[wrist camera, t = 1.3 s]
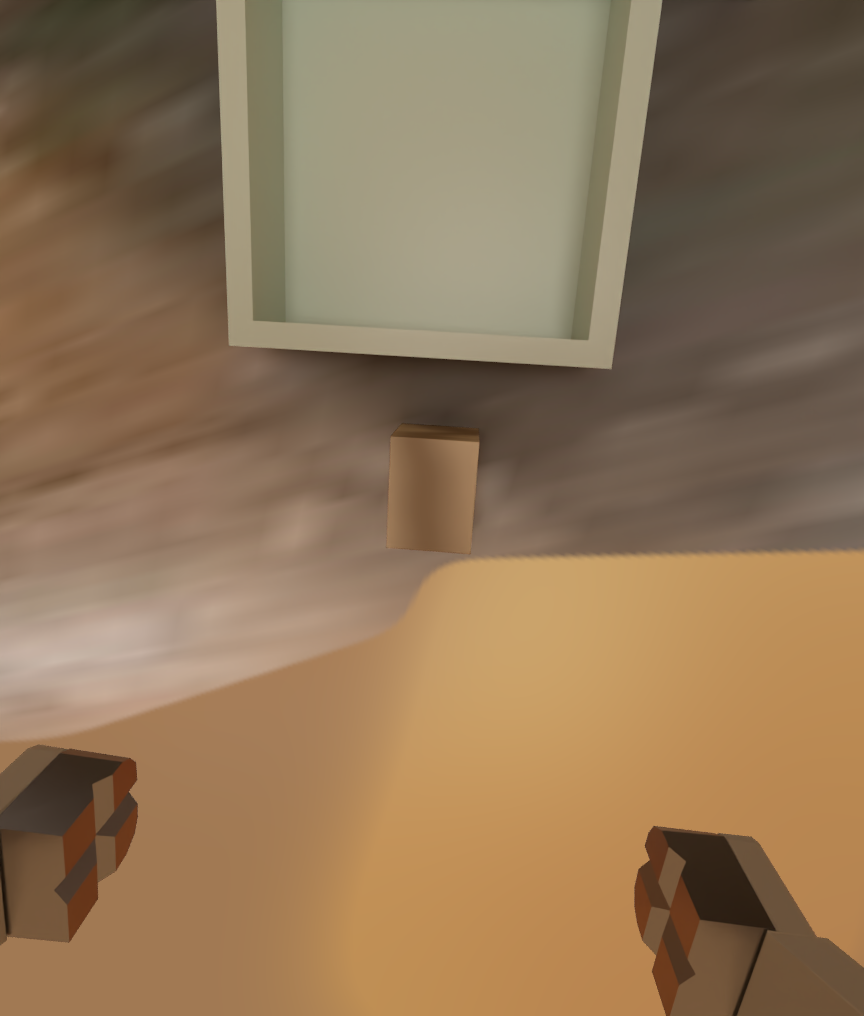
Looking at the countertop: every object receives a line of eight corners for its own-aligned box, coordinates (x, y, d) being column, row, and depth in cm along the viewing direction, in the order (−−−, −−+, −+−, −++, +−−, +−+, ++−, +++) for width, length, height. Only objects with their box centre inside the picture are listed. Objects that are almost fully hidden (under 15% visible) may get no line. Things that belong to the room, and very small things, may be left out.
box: (636, -26, 28) (679, -121, 22) (587, 364, 33) (611, 368, 27) (263, -37, 29) (211, -131, 23) (270, 344, 34) (228, 345, 28)
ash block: (478, 428, 34) (479, 442, 30) (470, 525, 36) (470, 554, 31) (402, 423, 35) (390, 436, 30) (397, 520, 36) (386, 547, 31)
